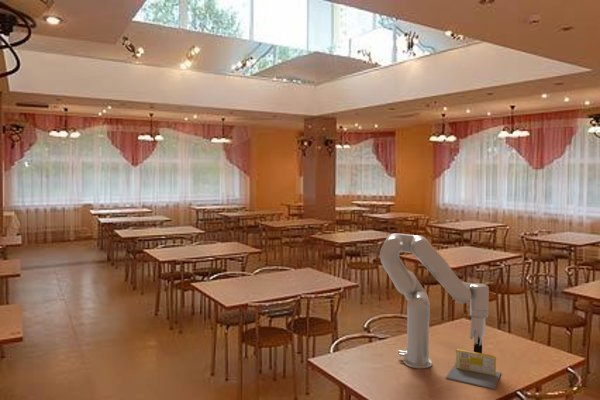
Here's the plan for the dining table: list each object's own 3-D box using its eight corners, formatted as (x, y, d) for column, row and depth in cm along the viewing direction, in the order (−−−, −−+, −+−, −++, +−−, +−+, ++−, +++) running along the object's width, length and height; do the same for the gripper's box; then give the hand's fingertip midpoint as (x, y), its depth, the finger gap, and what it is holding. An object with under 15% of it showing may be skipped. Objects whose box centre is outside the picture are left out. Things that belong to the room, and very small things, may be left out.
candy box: (495, 374, 198) (496, 355, 197) (495, 376, 196) (495, 357, 196) (456, 366, 206) (457, 348, 206) (455, 368, 204) (455, 349, 204)
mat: (445, 378, 195) (445, 377, 195) (455, 364, 210) (455, 363, 210) (494, 389, 185) (494, 388, 185) (500, 374, 200) (500, 372, 200)
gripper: (473, 306, 212) (472, 346, 213) (466, 315, 199) (465, 357, 200) (490, 309, 208) (489, 349, 209) (485, 318, 195) (484, 361, 196)
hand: (477, 353), depth 205 cm, fingers closed
